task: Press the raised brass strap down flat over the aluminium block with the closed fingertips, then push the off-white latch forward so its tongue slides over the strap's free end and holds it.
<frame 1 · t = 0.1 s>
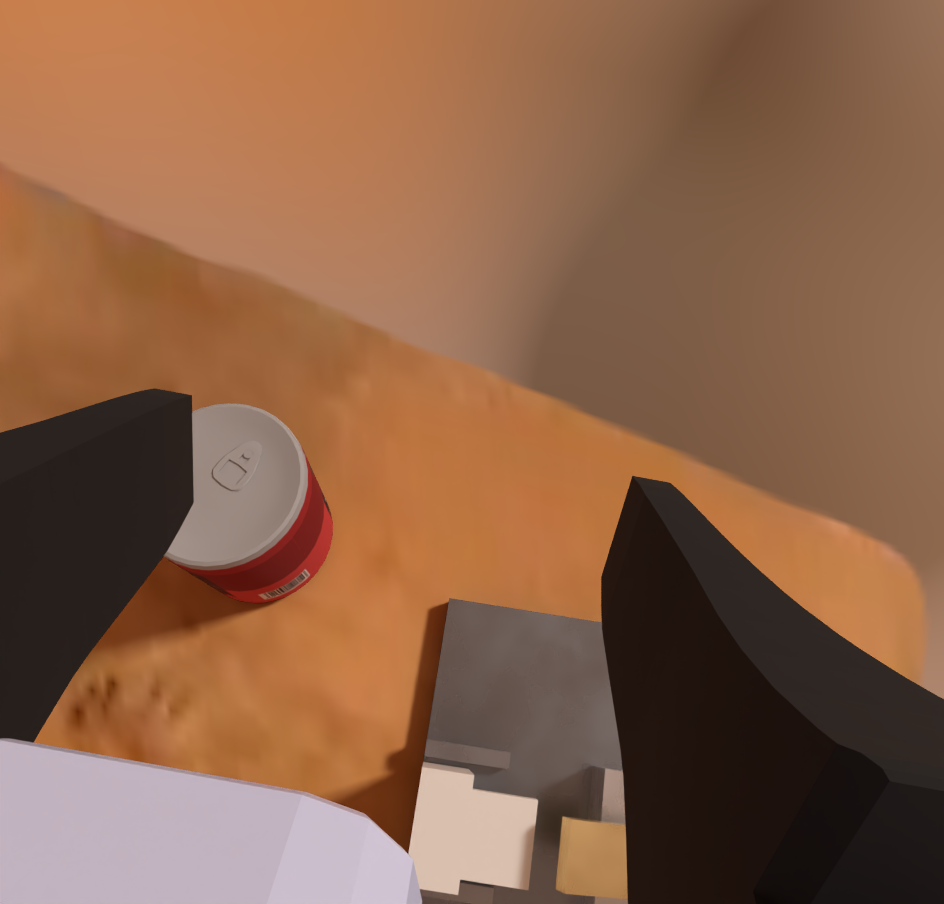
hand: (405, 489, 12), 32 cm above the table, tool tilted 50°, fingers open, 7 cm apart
canned food: (269, 539, 44), on the table
base plate: (591, 815, 40), on the table
latch: (470, 827, 35), point 4 cm above the table, slide at 0.0 cm
strap: (666, 864, 33), point 7 cm above the table, hinge at 20.0°
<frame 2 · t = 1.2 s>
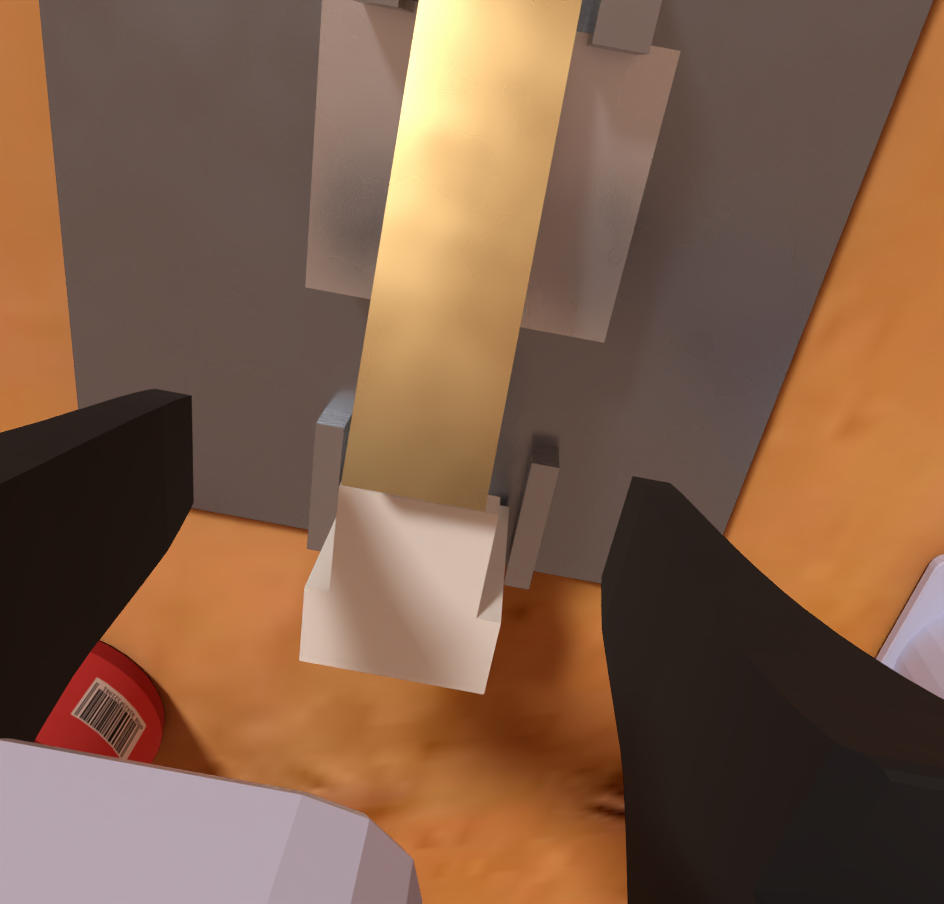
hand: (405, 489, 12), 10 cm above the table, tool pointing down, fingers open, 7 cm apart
canned food: (78, 691, 30), on the table
base plate: (437, 249, 21), on the table
latch: (420, 533, 20), point 4 cm above the table, slide at 0.0 cm
strap: (462, 222, 14), point 7 cm above the table, hinge at 20.0°
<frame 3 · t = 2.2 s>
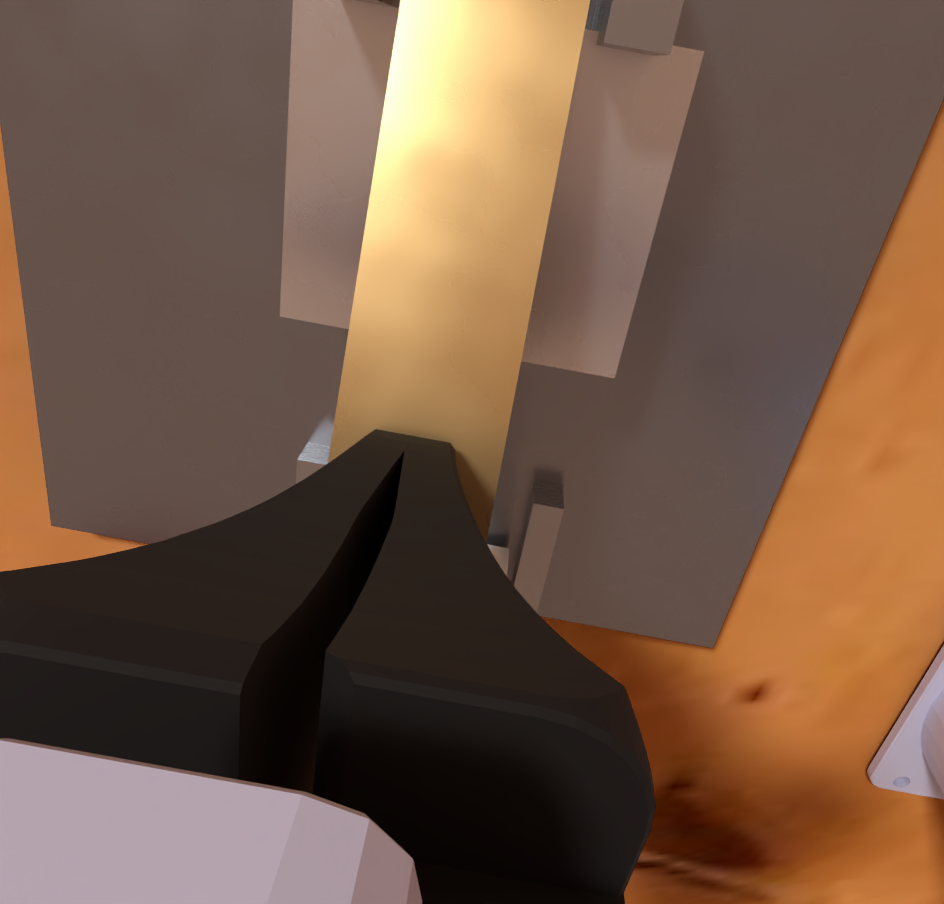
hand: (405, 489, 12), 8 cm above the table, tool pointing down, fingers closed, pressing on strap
base plate: (429, 269, 19), on the table
latch: (410, 582, 18), point 4 cm above the table, slide at 0.0 cm
strap: (453, 249, 12), point 7 cm above the table, hinge at 19.8°, touching gripper
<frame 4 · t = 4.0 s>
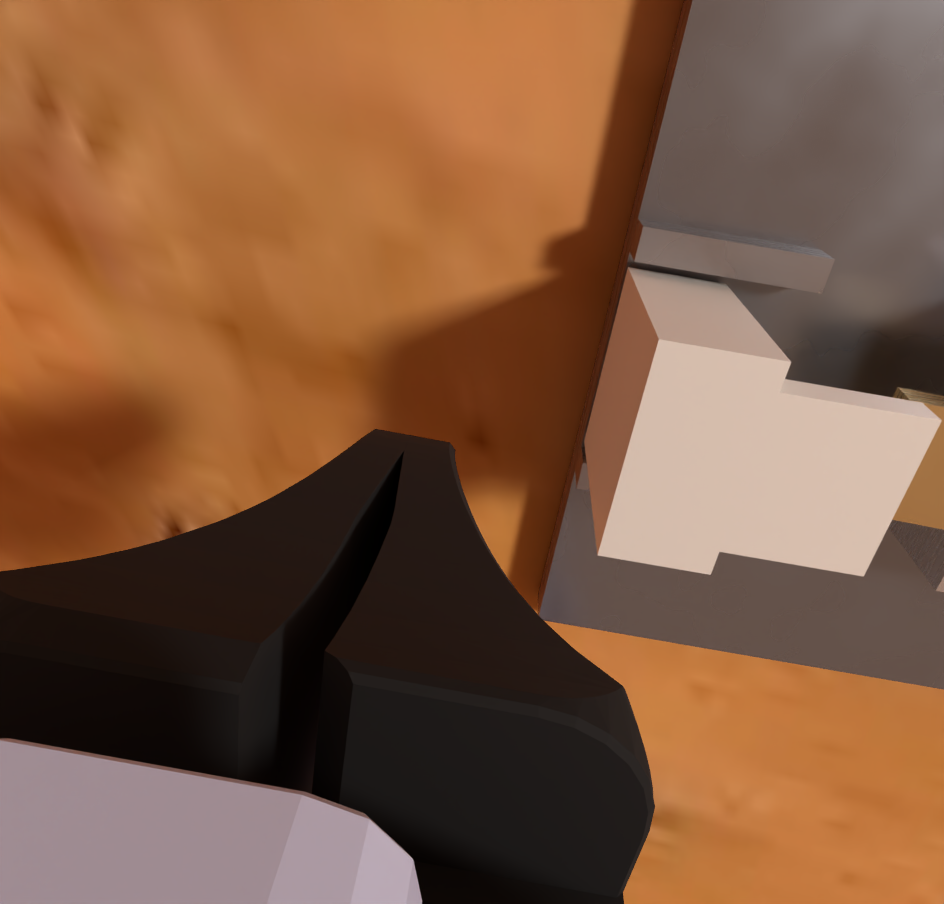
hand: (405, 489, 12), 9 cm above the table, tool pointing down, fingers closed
latch: (731, 421, 17), point 4 cm above the table, slide at 0.0 cm
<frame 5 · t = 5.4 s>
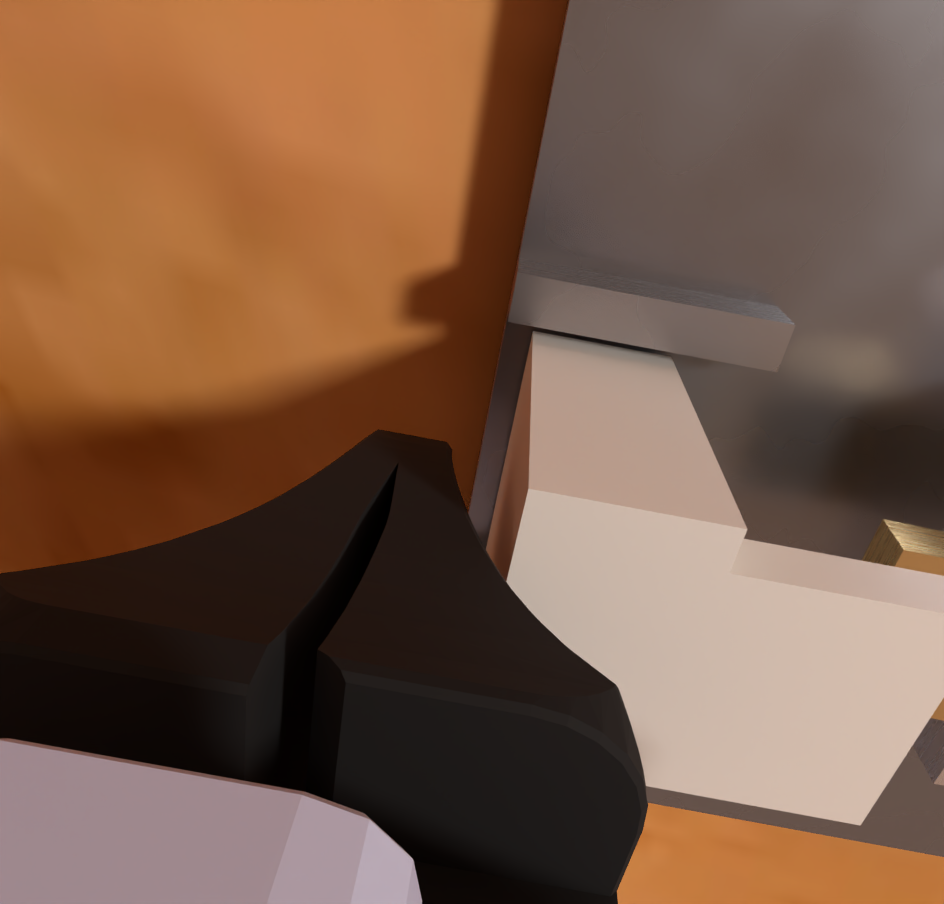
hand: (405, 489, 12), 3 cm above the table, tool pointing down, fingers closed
latch: (671, 564, 11), point 4 cm above the table, slide at 0.5 cm, touching gripper
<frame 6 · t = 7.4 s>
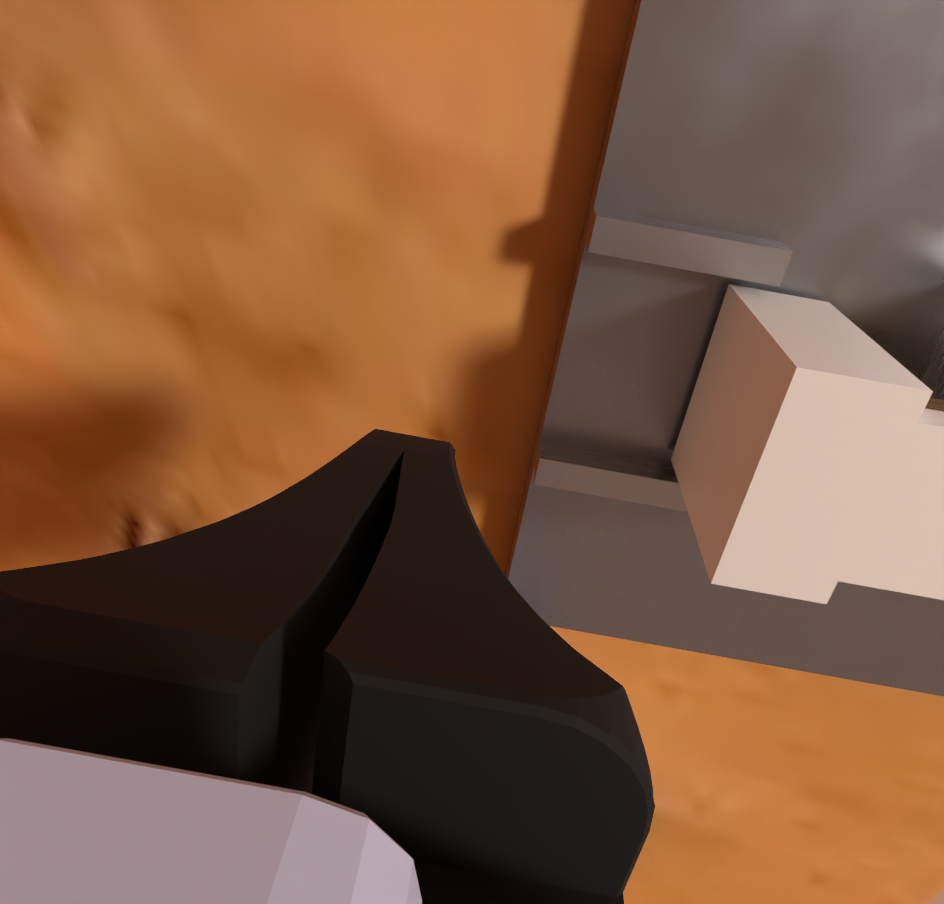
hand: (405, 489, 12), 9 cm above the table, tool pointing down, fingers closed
base plate: (916, 359, 20), on the table
latch: (841, 444, 16), point 4 cm above the table, slide at 3.5 cm
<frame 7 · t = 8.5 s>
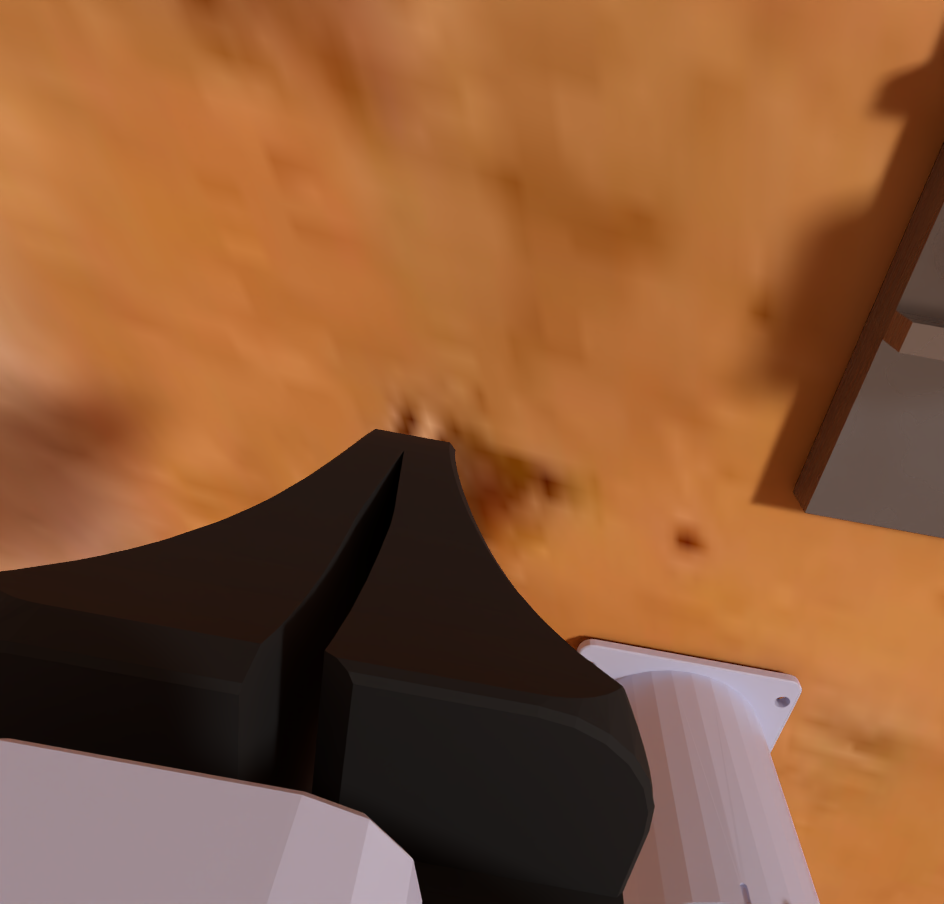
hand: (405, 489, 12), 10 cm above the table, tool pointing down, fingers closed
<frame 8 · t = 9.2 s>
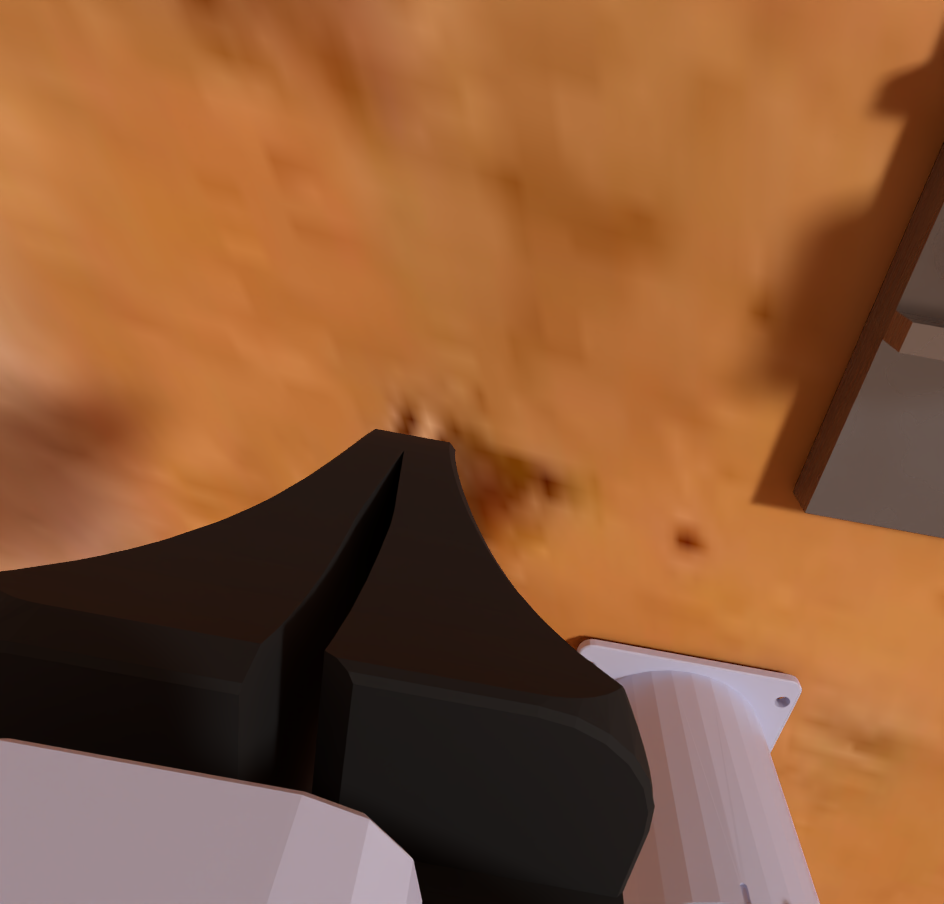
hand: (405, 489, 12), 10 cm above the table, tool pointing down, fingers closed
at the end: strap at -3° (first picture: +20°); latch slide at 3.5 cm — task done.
